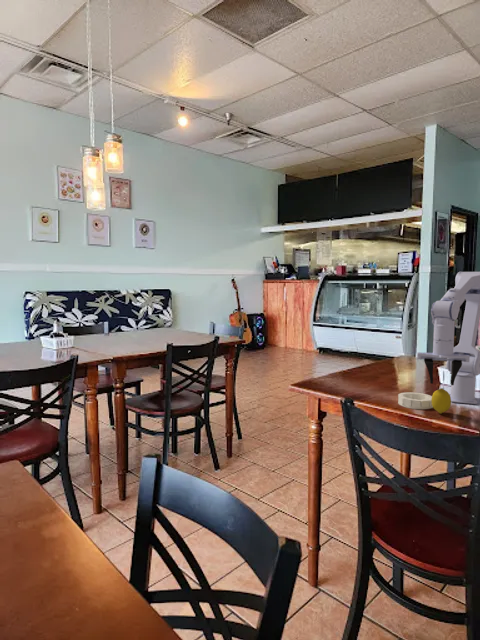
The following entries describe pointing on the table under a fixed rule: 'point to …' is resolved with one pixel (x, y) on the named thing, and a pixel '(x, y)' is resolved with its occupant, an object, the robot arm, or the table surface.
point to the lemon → (441, 400)
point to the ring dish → (415, 400)
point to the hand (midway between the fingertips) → (441, 383)
